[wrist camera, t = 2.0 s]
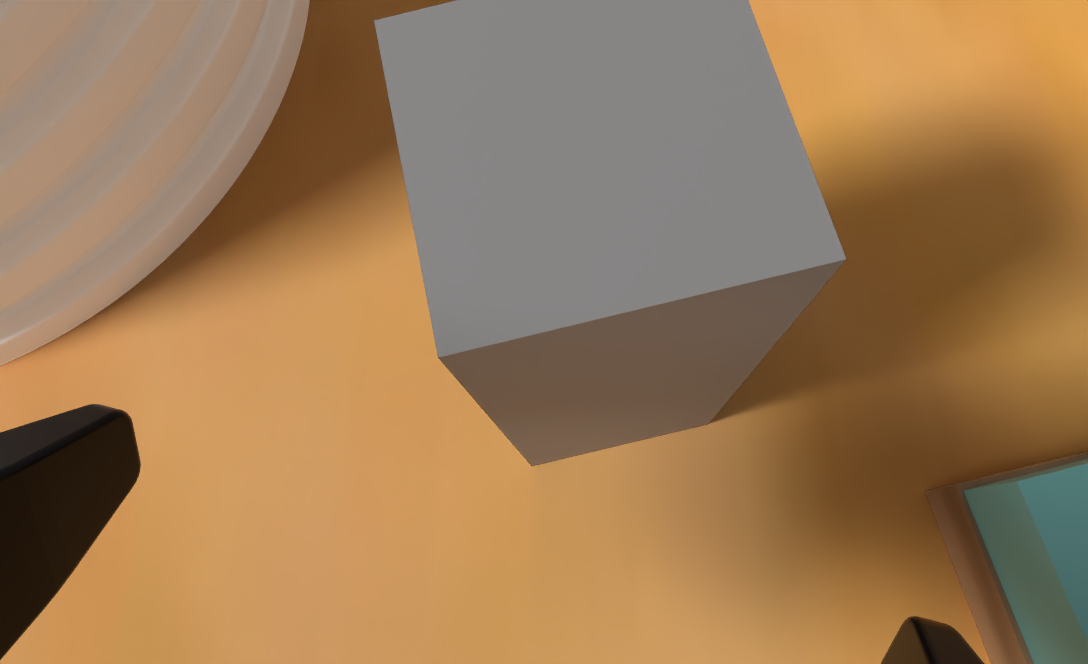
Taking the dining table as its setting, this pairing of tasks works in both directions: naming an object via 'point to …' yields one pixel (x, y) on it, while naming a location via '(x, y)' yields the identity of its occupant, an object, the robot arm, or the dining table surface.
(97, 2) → the plate stack
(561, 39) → the grey pillar block
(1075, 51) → the dining table surface
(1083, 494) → the teal slab
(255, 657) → the dining table surface
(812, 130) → the dining table surface
